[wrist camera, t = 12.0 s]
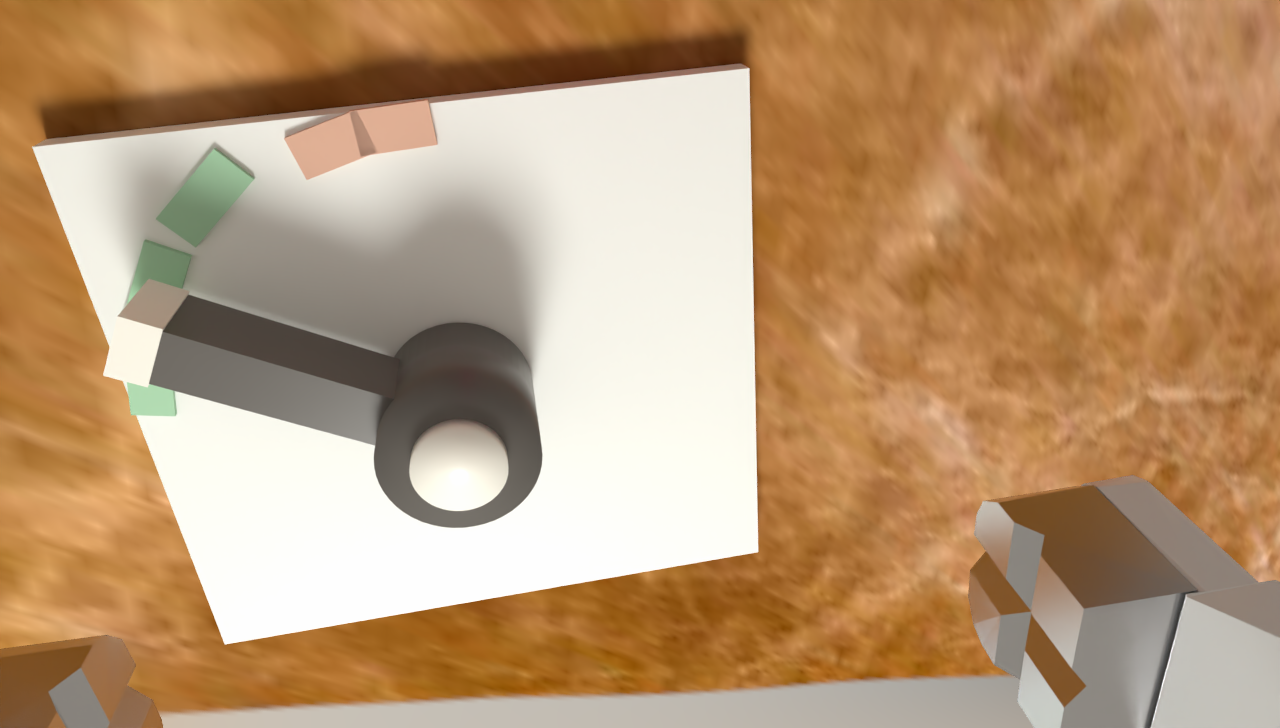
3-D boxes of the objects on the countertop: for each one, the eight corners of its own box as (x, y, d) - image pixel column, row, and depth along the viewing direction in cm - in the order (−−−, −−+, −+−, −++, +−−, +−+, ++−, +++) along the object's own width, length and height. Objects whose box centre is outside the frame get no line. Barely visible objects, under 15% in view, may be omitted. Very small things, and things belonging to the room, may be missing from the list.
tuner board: (741, 59, 30) (750, 64, 29) (751, 537, 40) (759, 554, 39) (41, 134, 28) (25, 144, 27) (228, 627, 37) (221, 648, 36)
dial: (554, 349, 33) (569, 425, 28) (503, 465, 35) (509, 555, 30) (169, 222, 29) (110, 287, 24) (133, 362, 30) (72, 448, 26)
